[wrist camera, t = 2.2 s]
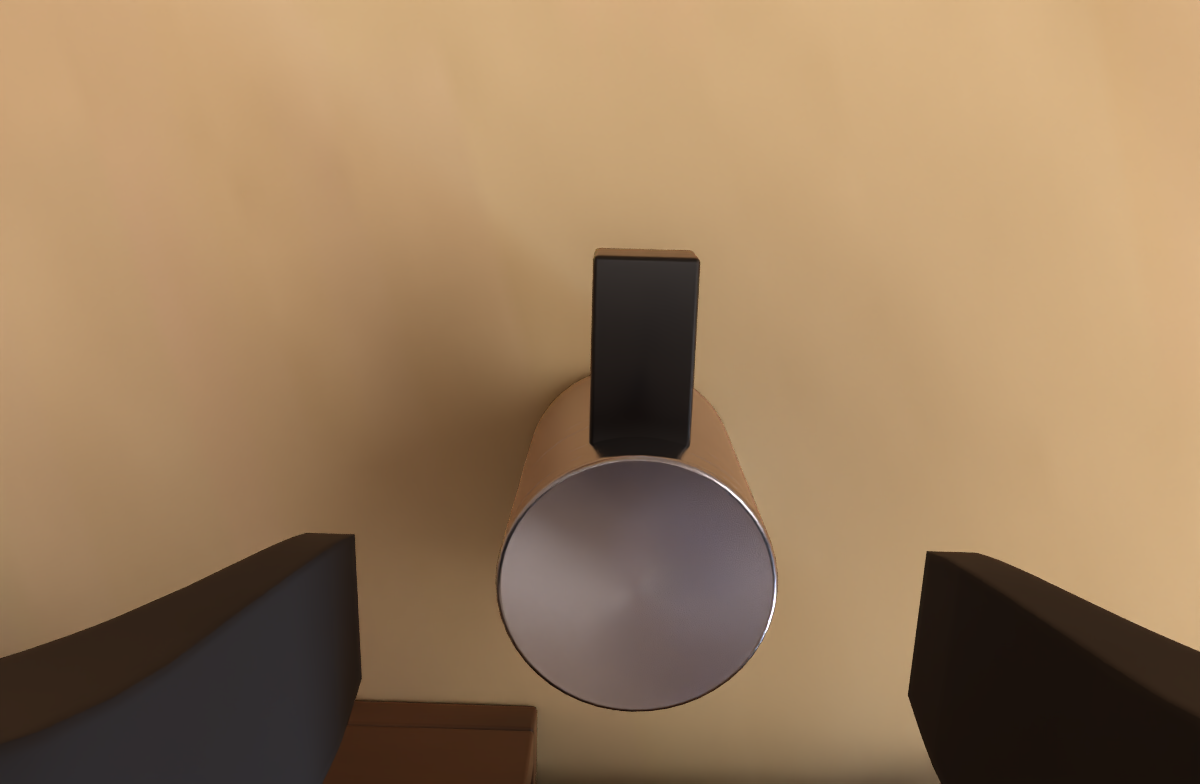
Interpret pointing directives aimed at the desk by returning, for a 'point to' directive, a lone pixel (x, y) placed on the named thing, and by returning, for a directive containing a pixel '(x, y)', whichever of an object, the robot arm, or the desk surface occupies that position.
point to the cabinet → (436, 744)
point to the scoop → (636, 512)
